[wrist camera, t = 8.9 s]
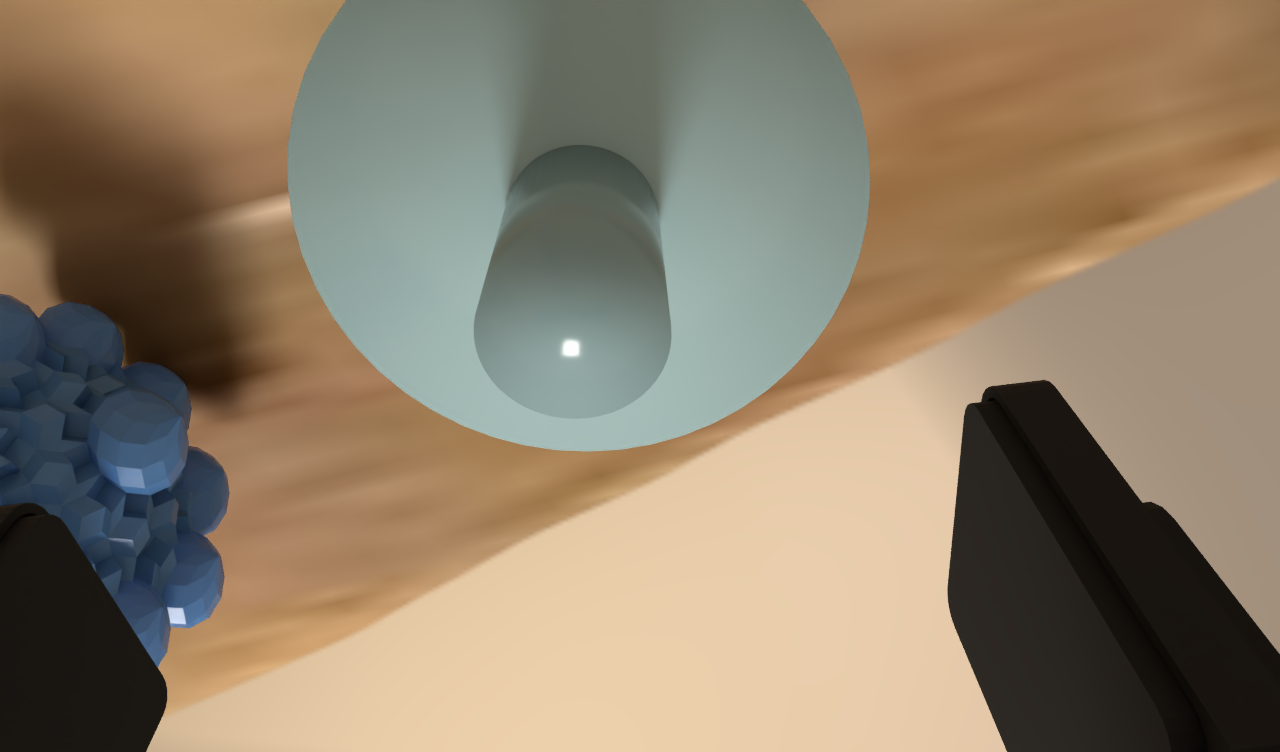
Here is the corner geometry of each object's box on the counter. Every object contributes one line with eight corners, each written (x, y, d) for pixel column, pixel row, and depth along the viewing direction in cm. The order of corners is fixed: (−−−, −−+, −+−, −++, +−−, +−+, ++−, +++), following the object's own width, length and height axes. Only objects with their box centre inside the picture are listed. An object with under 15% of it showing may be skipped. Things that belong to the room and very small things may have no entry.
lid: (219, -63, 17) (42, -8, 12) (858, -152, 16) (974, -137, 11) (389, 447, 23) (324, 632, 18) (855, 394, 23) (928, 568, 18)
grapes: (361, 436, 34) (254, 702, 24) (227, 510, 36) (74, 787, 26) (121, 182, 29) (-151, 385, 18) (-23, 283, 30) (-345, 520, 20)
